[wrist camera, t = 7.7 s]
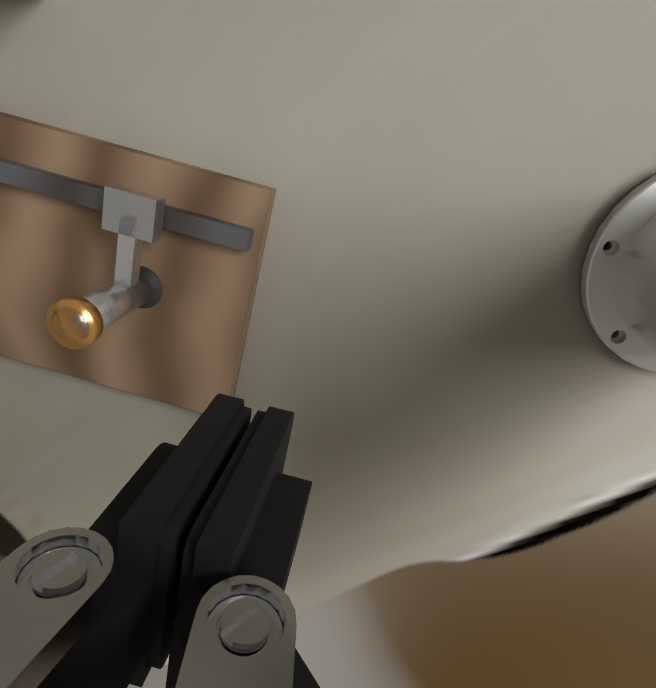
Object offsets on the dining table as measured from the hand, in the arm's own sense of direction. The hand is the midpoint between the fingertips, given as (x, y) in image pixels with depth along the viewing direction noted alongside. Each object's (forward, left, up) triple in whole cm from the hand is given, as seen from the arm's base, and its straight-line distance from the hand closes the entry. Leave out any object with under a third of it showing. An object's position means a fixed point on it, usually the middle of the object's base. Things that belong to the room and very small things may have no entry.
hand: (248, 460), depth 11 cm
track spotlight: (+12, +3, -20) cm, 23 cm away
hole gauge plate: (+16, +5, -22) cm, 28 cm away
